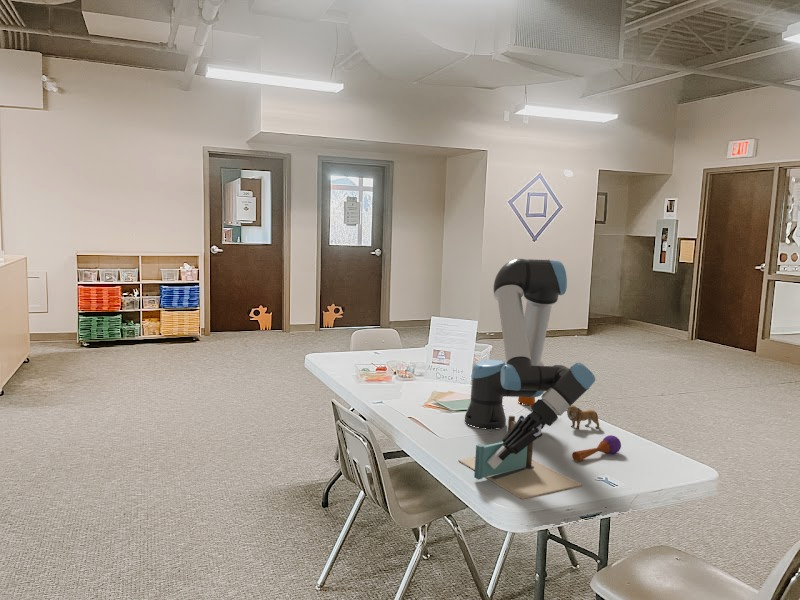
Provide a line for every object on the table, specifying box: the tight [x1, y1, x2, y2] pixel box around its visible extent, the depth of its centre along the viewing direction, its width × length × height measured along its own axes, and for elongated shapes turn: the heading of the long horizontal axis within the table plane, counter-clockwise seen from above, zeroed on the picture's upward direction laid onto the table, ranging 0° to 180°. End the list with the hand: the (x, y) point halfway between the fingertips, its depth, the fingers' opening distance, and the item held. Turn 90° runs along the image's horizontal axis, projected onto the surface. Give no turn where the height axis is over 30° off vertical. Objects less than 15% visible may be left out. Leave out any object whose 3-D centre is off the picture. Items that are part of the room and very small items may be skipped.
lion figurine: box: [566, 404, 600, 431], centre depth 235 cm, size 15×5×9 cm, turn 112°
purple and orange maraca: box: [571, 435, 622, 463], centre depth 206 cm, size 6×6×20 cm
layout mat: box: [457, 456, 583, 500], centre depth 189 cm, size 30×22×1 cm
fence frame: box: [507, 415, 534, 468], centre depth 201 cm, size 18×2×11 cm, turn 10°
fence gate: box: [473, 441, 527, 480], centre depth 186 cm, size 20×2×10 cm, turn 125°
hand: (490, 465), depth 181 cm, fingers closed
